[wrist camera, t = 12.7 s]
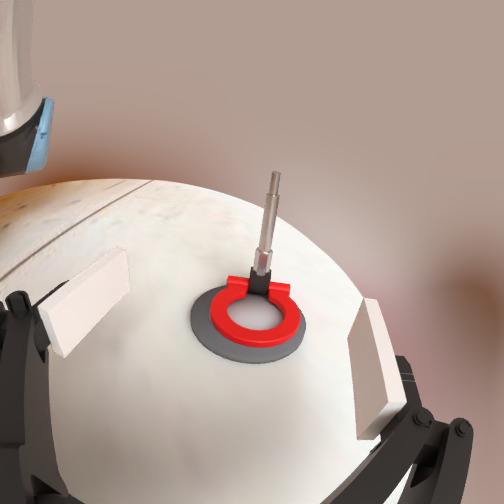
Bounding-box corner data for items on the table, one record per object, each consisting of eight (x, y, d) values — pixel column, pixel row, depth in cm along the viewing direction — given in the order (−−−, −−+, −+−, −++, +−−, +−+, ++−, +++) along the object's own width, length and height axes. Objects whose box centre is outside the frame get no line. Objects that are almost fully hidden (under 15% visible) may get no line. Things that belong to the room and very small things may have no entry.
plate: (191, 288, 30) (191, 281, 30) (287, 291, 33) (288, 284, 32) (190, 363, 21) (190, 356, 20) (319, 359, 23) (322, 352, 22)
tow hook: (300, 356, 22) (295, 293, 31) (344, 210, 16) (321, 178, 25) (201, 342, 22) (219, 282, 31) (206, 189, 16) (230, 164, 25)
